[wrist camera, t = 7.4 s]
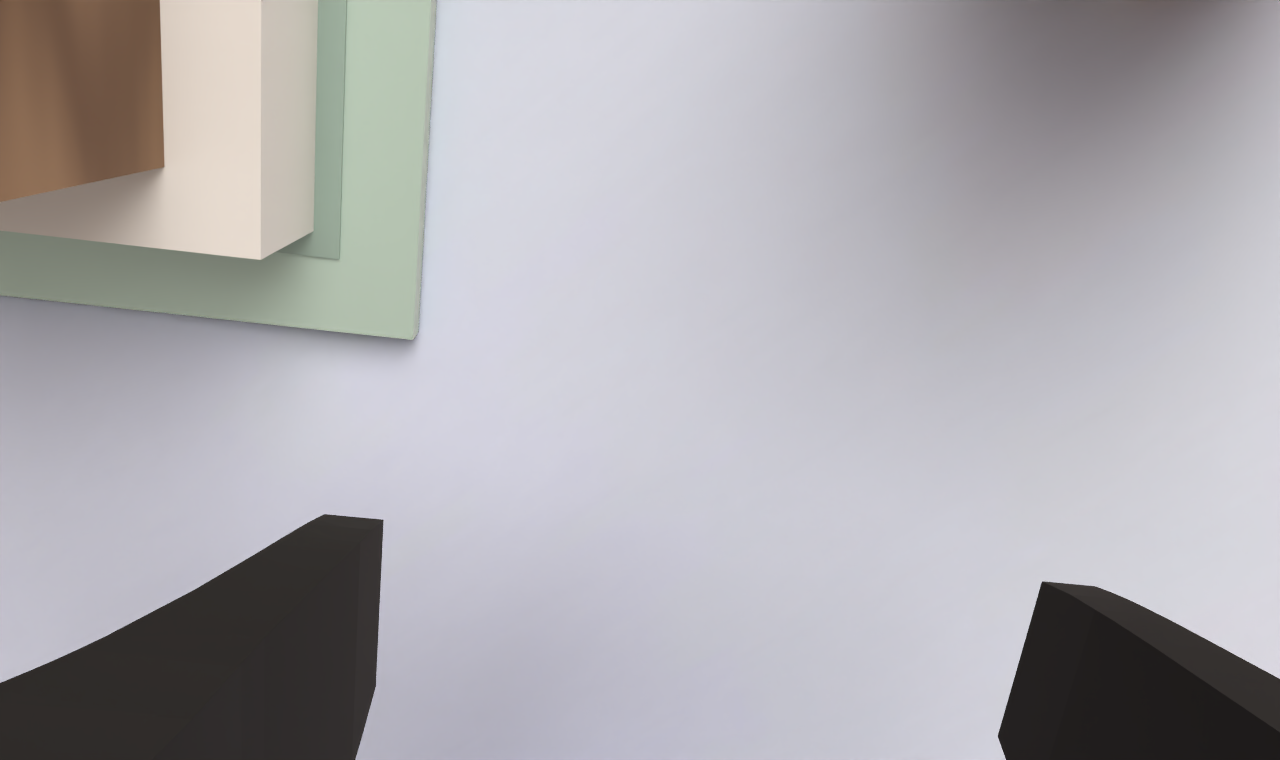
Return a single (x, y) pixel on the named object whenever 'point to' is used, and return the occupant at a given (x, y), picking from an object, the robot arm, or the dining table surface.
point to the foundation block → (211, 141)
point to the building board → (343, 205)
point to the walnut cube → (78, 93)
